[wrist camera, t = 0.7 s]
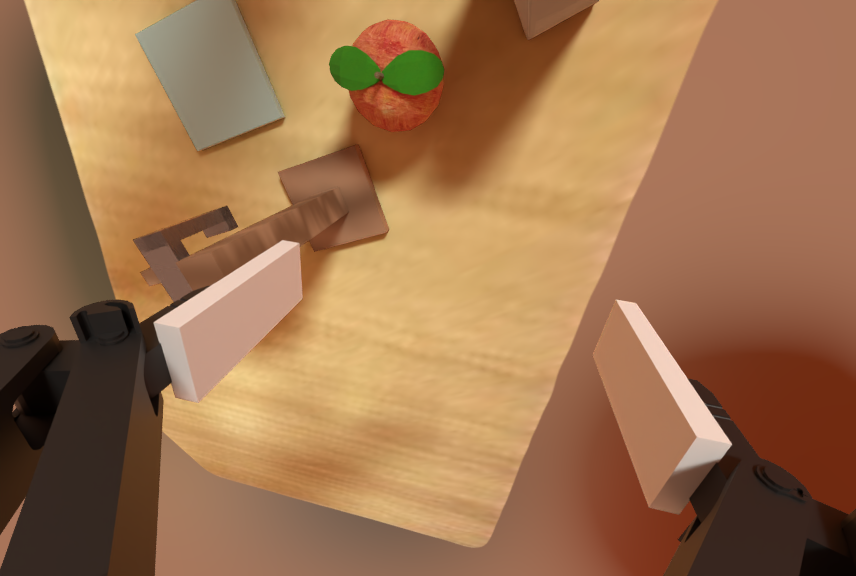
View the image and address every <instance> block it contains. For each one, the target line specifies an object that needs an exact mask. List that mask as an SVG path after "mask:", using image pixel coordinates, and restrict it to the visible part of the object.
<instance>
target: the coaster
mask: <svg viewBox="0 0 856 576" xmlns="http://www.w3.org/2000/svg"><path fill="white" fill-rule="evenodd" d="M135 35H136V37H137V39H138V41H139V43H140V45H141V47H142V49H143V50H144V52H145V54H146V56H147V58H148V60H149V62H150V64H151V65H152V67H153V69H154V71H155V73H156V75H157V77H158V79H159V80H160V82H161V84H162V86H163V88H164V90H165V92H166V93H167V95H168V97H169V99H170V101H171V103H172V105H173V107H174V108H175V110H176V112H177V114H178V116H179V118H180V120H181V122H182V123H183V125H184V127H185V129H186V131H187V133H188V135H189V137H190V138H191V140H192V142H193V144H194V146H195V148H196V150H197V151H201V150H204V149H207V148H209V147H212V146H214V145H217V144H219V143H222V142H224V141H227V140H229V139H232V138H234V137H237V136H240V135H242V134H245V133H247V132H250V131H252V130H255V129H257V128H260V127H262V126H265V125H267V124H270V123H272V122H275V121H277V120H280V119H282V118H285V116H284V113H283V111H282V109H281V106H280V104H279V102H278V99H277V97H276V95H275V92H274V90H273V88H272V85H271V83H270V81H269V78H268V76H267V74H266V71H265V69H264V66H263V64H262V62H261V59H260V57H259V55H258V52H257V50H256V48H255V45H254V43H253V41H252V38H251V36H250V34H249V31H248V29H247V27H246V24H245V22H244V20H243V17H242V15H241V13H240V10H239V8H238V6H237V3H236V1H235V0H196V1H194V2H193V3H191V4H189V5H187V6H185V7H184V8H182V9H180V10H178V11H176V12H175V13H173V14H171V15H169V16H167V17H166V18H164V19H162V20H160V21H158V22H157V23H155V24H153V25H151V26H149V27H148V28H146V29H144V30H142V31H140V32H139V33H137V34H135Z"/></svg>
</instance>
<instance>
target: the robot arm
mask: <svg viewBox="0 0 856 576" xmlns="http://www.w3.org/2000/svg"><path fill="white" fill-rule="evenodd" d="M302 299H303V296H302V278H301V261H300V243H296V242H290V241H285V240H282V241H280V242H279V243H277V244H276V245H274V246H273V247H271V248H269V249H268V250H266V251H265V252H263V253H262V254H260V255H258V256H257V257H255V258H254V259H252V260H251V261H249V262H247V263H246V264H244V265H243V266H241V267H240V268H238V269H237V270H235V271H233V272H232V273H230V274H229V275H227V276H226V277H224V278H222V279H221V280H219V281H218V282H216V283H215V284H213V285H211V286H205V287H202V288H200V289H197V290H194V291H191V292H190V293H188V294H187V295H185V296H183V297H182V298H180V300H177V301H175V302H174V303H172V304H170V306H167V307H165V308H164V309H162V310H161V311H159V312H157V313H156V314H154V315H152V316H151V317H149V318H148V319H146V320H144V321H143V322H141V323H139V321H138V318H137V315H136V312H135V309H134V306H133V304H132V303H130V302H128V301H124V300H106V301H101V302H97V303H93V304H90V305H87V306H84V307H82V308H80V309H79V310H77V311H75V312H74V313H73V314H72V315H71V316H70V319H71V322H72V324H73V327H74V329H75V331H76V334H77V336H78V338H79V340H76V341H75V340H69V341H59V339H58V337H57V335H56V333H55V330H54V329H53V328H52V327H50V326H47V325H33V326H22V327H18V328H14V329H10V330H8V331H6V332H4V333H1V334H0V534H1V533H2V531H3V530H4V528H5V527H6V525H7V524H8V522H9V521H10V519H11V518H12V516H13V515H14V513H15V512H16V510H17V509H18V507H19V506H20V504H21V503H22V501H23V500H24V498H25V497H26V498H25V501H24V504H23V507H22V509H21V512H20V515H19V518H18V521H17V524H16V526H15V529H14V532H13V535H12V538H11V540H10V543H9V546H8V549H7V552H6V555H5V558H4V560H3V563H2V566H1V569H0V576H155V557H156V538H157V537H156V536H157V517H158V498H159V477H160V459H161V458H160V457H161V439H162V419H163V397H162V394H161V391H162V390H163V389H164V388H166V387H167V386H168V385H169V384H170V383H171V384H172V388H173V391H174V395H175V398H180V399H184V400H188V401H193V402H197V403H199V402H200V401H201V400H202V399H203V398H204V397H205V396H206V395H207V394H208V393H209V392H210V391H211V390H212V389H213V388H214V387H215V386H216V385H217V384H218V383H219V382H220V381H221V380H222V379H223V378H224V377H225V376H226V375H227V374H228V373H229V372H230V371H231V370H232V369H233V368H234V367H235V366H236V365H237V364H238V363H239V362H240V361H241V360H242V359H243V358H244V357H245V356H246V355H247V354H248V353H249V352H250V351H251V350H252V349H253V348H254V347H255V346H256V345H257V344H258V343H259V342H260V341H261V340H262V339H263V338H264V337H265V336H266V335H267V334H268V333H269V332H270V331H271V330H272V329H273V328H274V327H275V326H276V325H277V324H278V323H279V322H280V321H281V320H282V319H283V318H284V317H285V316H286V315H287V314H288V313H289V312H290V311H291V310H292V309H293V308H294V307H295V306H296V305H297V304H298V303H299V302H300V301H301V300H302ZM593 357H594V360H595V363H596V365H597V368H598V371H599V374H600V376H601V379H602V382H603V384H604V387H605V390H606V392H607V395H608V398H609V400H610V403H611V406H612V409H613V411H614V414H615V417H616V419H617V422H618V425H619V427H620V430H621V433H622V436H623V438H624V441H625V444H626V446H627V449H628V452H629V455H630V457H631V460H632V463H633V466H634V468H635V471H636V474H637V476H638V479H639V482H640V485H641V487H642V490H643V493H644V495H645V498H646V500H647V503H648V506H649V508H653V509H658V510H662V511H666V512H671V513H675V514H680V513H681V511H682V510H683V509H684V507H685V506H686V505H687V503H688V502H689V501H691V503H692V506H693V508H694V510H695V512H696V514H697V516H696V518H695V519H694V520H693V522H692V523H691V524H690V525H689V526H688V528H687V529H686V530H685V531H684V533H683V534H682V535H681V536H680V538H679V539H678V540H679V541H680V542H681V543H680V545H679V547H678V549H677V551H676V553H675V555H674V556H673V558H672V561H671V562H670V564H669V566H668V568H667V570H666V572H665V574H664V575H663V576H856V509H855V510H854V511H853V512H852V513H850V514H846V513H844V512H842V511H839V510H837V509H835V508H832V507H830V506H828V505H826V504H823V503H821V502H818V501H816V500H814V499H812V497H811V495H810V494H809V492H808V491H807V489H806V488H805V487H804V485H802V484H801V483H800V482H799V481H798V480H797V479H796V478H795V477H794V476H793V475H791V474H790V473H789V472H787V471H786V470H784V469H783V468H781V467H779V466H777V465H776V464H774V463H771V462H769V461H767V460H765V459H761V458H760V457H759V456H758V455H757V453H756V452H755V451H754V449H753V448H752V446H751V445H750V444H749V442H748V441H747V440H746V438H745V437H744V436H743V434H742V433H741V431H740V430H739V429H738V428H737V426H736V425H735V423H734V422H733V421H731V420H730V417H729V415H728V414H727V413H726V411H725V410H724V409H722V406H721V404H720V403H719V402H718V400H717V399H716V398H715V396H714V395H713V393H712V392H710V391H709V390H708V389H707V388H705V387H704V386H703V385H702V384H701V383H700V382H698V381H697V380H692V379H687V377H686V376H685V374H684V373H683V372H682V370H681V369H680V367H679V366H678V364H677V363H676V361H675V360H674V358H673V357H672V355H671V354H670V353H669V351H668V350H667V348H666V347H665V345H664V344H663V342H662V341H661V339H660V338H659V336H658V335H657V333H656V332H655V330H654V329H653V327H652V326H651V324H650V323H649V322H648V320H647V319H646V317H645V316H644V314H643V313H642V311H641V310H640V308H639V307H638V305H637V304H636V303H632V302H626V301H620V300H616V301H615V303H614V305H613V308H612V310H611V313H610V315H609V317H608V320H607V322H606V324H605V327H604V329H603V332H602V334H601V337H600V339H599V341H598V344H597V346H596V348H595V351H594V353H593ZM14 404H15V406H16V407H17V408H16V409H15V410H14V411H13V405H14ZM12 411H13V412H12Z"/></svg>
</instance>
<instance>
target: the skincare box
mask: <svg viewBox="0 0 856 576" xmlns="http://www.w3.org/2000/svg"><path fill="white" fill-rule="evenodd" d="M598 1H599V0H514V2H515V5H516V8H517V11H518V14H519V17H520V20H521V23H522V26H523V29H524V32H525V35H526V38H527V40H530V39H532V38H534V37H535V36H537V35H539V34H541V33H543V32H544V31H546V30H548V29H550V28H552V27H553V26H555V25H557V24H559V23H561V22H562V21H564V20H566V19H568V18H570V17H571V16H573V15H575V14H577V13H579V12H581V11H582V10H584V9H586V8H588V7H590V6H591V5H593V4H595V3H597V2H598Z"/></svg>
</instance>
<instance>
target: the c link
mask: <svg viewBox="0 0 856 576" xmlns="http://www.w3.org/2000/svg"><path fill="white" fill-rule="evenodd" d="M237 227H238V225H237V223H236V221H235V220H234V218H233V216H232V214H231V212H230V210H229V208H228V206H225V207H222V208H219V209H216V210H213V211H210V212H207V213H204V214H201V215H198V216H196V217H193V218H190V219H188V220H185V221H182V222H179V223H177V224H174V225H171V226H169V227H166V228H163V229H161V230H158V231H155V232H152V233H150V234H147V235H144V236H142V237H139V238H136V239H133V241H134V243H135V244H136V246H137V247H138V249H139V250H140V252H141V253H142V255H143V256H144V258H145V259H146V261H147V262H148V264H149V265H150V267H151V268H152V270H153V271H154V273H155V274H156V276H157V277H158V279H159V280H160V282H161V283H162V285H163V286H164V288H165V289H166V291H167V292H168V294H169V296H170V297H171V299H172V300H173V302H175V301H177V300H180V298H182V297H183V296H185V295H187V294H188V293H190V292H191V291H193V290H192V288H191V287H190V285H189V284H188V282H187V280H186V279H185V277H184V276H183V274H182V273H181V271H180V269H179V268H178V266H177V265H176V262H178V261H180V260H182V259H184V258H186V257H188V256H190V255H189V254H188V252H187V250H186V249H185V247H184V245H183V244H182V242H181V241H180V240H181V239H184V238H186V237H188V236H191V235H193V234H195V233H198V232H200V231H202V230H203V232H204V234H205V235H206V237H207V238H208V237H211V236H214V235H218V234H221V233H224V232H227V231H231V230H233V229H235V228H237Z"/></svg>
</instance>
